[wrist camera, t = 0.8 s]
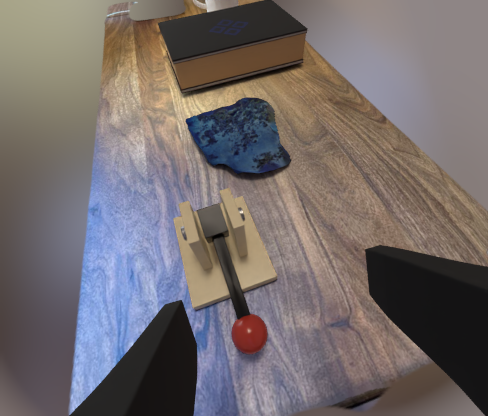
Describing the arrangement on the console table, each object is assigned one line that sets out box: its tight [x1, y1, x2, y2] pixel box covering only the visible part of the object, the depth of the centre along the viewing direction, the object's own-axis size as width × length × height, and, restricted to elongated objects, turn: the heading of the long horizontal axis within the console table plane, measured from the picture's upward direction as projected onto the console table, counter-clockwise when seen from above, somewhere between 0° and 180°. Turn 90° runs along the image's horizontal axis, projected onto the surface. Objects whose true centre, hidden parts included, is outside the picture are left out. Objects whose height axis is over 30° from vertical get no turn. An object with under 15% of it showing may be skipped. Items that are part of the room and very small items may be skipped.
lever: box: [197, 203, 268, 354], centre depth 21 cm, size 13×3×3 cm, turn 19°
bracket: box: [173, 188, 277, 310], centre depth 25 cm, size 11×9×8 cm
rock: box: [186, 98, 291, 174], centre depth 37 cm, size 15×17×2 cm
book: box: [158, 0, 307, 93], centre depth 49 cm, size 17×25×7 cm
